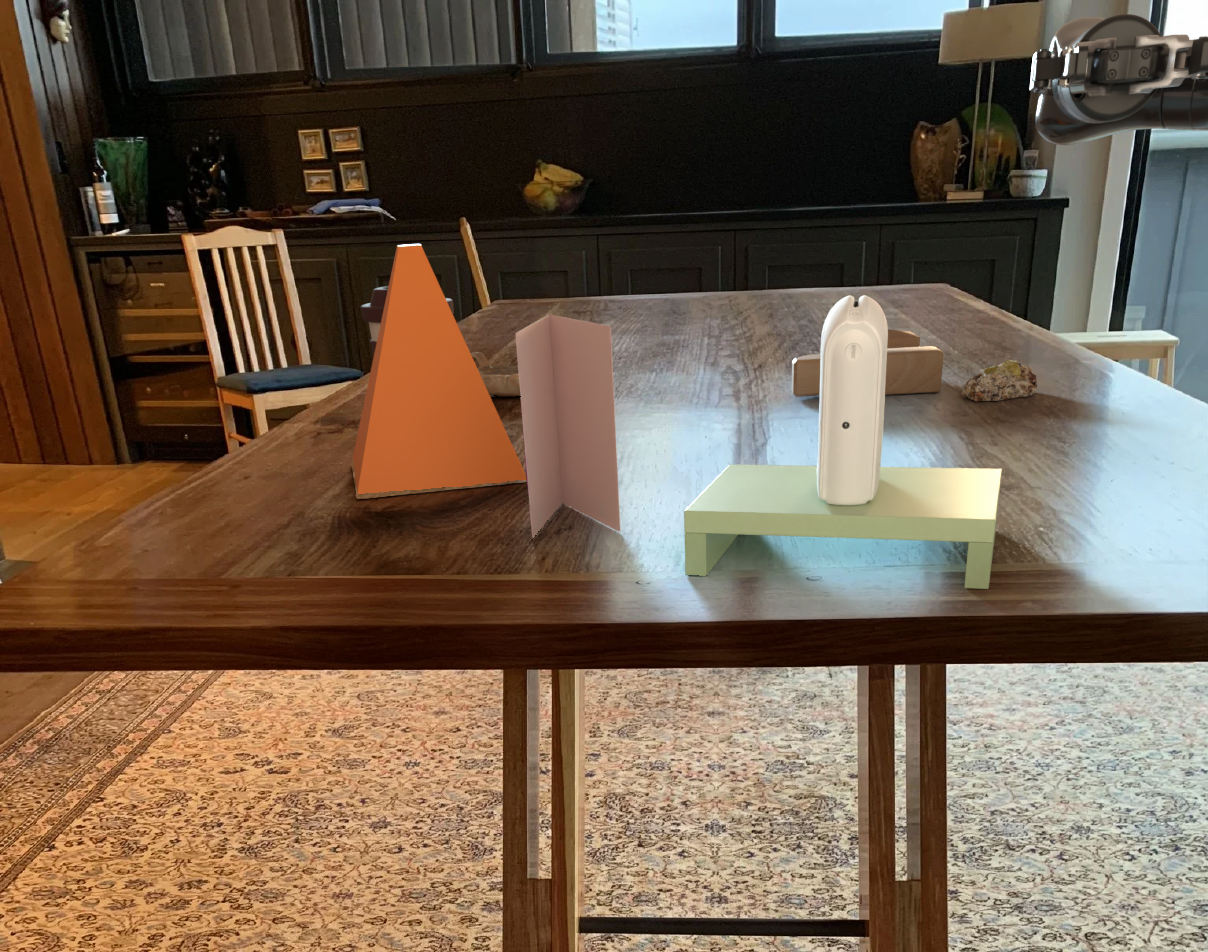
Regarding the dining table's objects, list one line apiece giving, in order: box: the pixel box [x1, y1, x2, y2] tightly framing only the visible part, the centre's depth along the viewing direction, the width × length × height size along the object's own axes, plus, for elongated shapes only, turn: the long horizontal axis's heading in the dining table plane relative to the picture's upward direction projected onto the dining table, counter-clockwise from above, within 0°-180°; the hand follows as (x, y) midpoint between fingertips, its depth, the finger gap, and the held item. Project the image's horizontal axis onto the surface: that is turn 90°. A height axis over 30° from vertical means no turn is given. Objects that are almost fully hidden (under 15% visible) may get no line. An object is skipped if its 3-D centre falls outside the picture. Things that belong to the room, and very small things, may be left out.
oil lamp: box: [470, 351, 521, 397], centre depth 153 cm, size 13×8×5 cm, turn 43°
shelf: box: [683, 464, 1003, 590], centre depth 84 cm, size 20×14×4 cm
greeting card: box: [514, 314, 621, 539], centre depth 93 cm, size 11×7×15 cm, turn 170°
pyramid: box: [352, 243, 527, 494], centre depth 110 cm, size 16×16×20 cm
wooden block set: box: [791, 328, 944, 398], centre depth 145 cm, size 17×6×18 cm
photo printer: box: [816, 294, 889, 506], centre depth 80 cm, size 10×4×12 cm, turn 169°
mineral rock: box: [961, 359, 1038, 402], centre depth 136 cm, size 11×4×8 cm
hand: (1143, 58), depth 87 cm, fingers open, 8 cm apart
